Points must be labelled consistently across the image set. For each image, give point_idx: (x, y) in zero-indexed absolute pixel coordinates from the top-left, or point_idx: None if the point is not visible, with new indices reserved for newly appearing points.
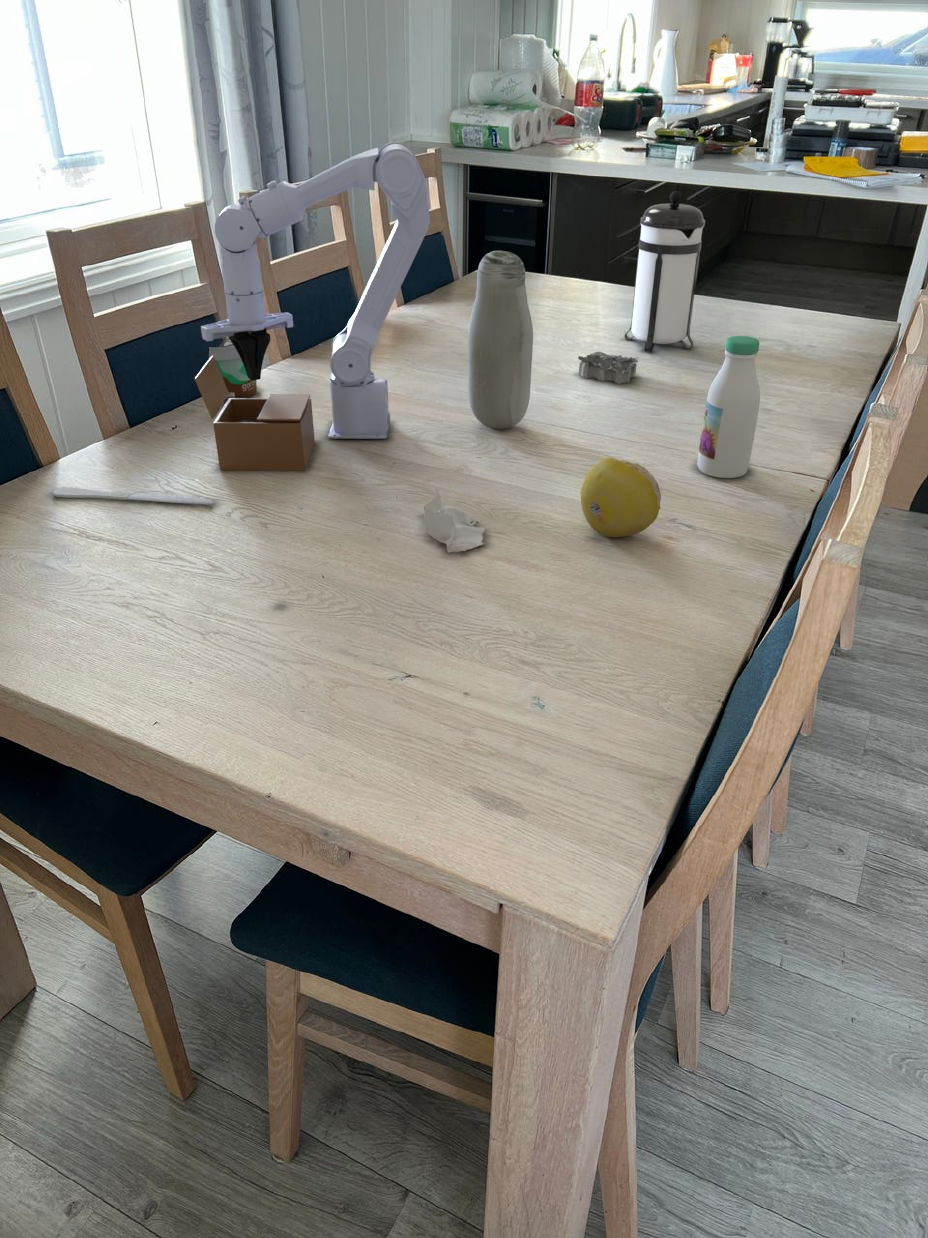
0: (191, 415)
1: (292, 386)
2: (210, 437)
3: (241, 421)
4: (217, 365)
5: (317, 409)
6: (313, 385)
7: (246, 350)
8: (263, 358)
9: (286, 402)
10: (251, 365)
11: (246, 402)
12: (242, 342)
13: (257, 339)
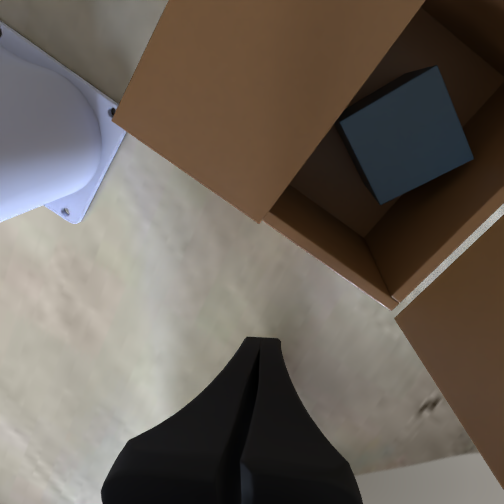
0: (357, 442)
1: (100, 453)
2: (394, 312)
3: (395, 192)
4: (466, 426)
5: (93, 319)
6: (58, 435)
7: (309, 432)
8: (207, 386)
9: (245, 75)
10: (281, 373)
11: (344, 258)
12: (347, 482)
13: (219, 469)
